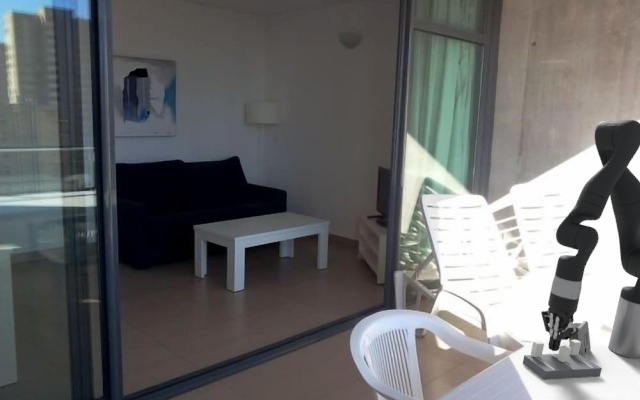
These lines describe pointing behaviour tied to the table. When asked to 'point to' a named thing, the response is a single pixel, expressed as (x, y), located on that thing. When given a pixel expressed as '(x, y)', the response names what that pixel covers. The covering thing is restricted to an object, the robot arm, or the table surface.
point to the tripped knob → (564, 353)
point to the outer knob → (537, 349)
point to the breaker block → (561, 367)
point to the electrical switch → (582, 337)
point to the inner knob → (574, 347)
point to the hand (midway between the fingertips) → (553, 349)
